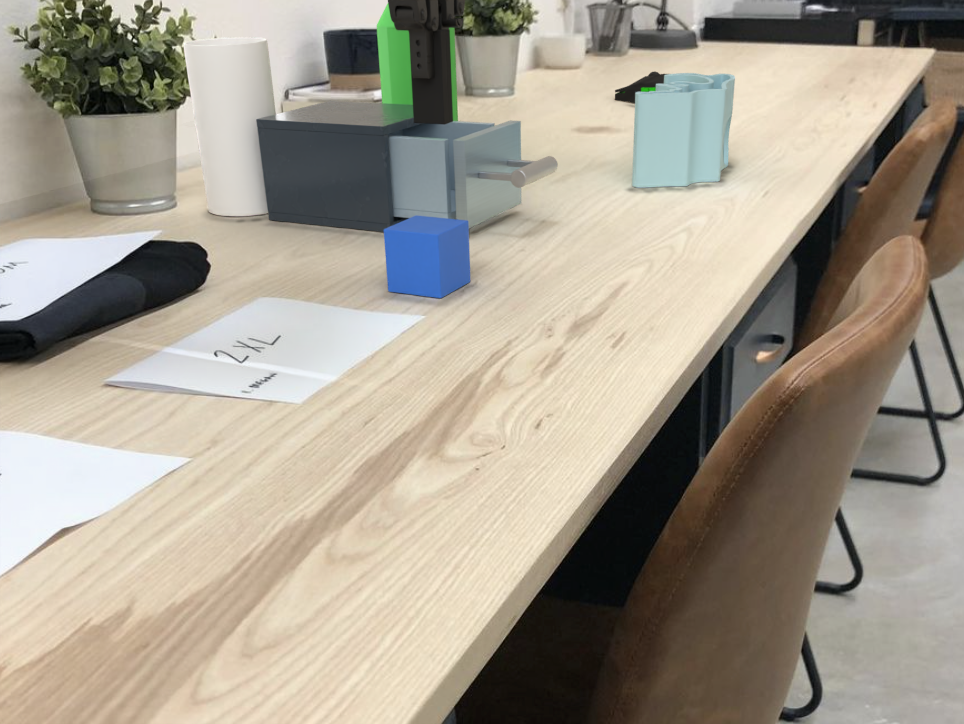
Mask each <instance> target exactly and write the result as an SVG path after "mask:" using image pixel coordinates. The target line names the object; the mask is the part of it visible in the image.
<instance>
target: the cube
mask: <svg viewBox="0 0 964 724" xmlns="http://www.w3.org/2000/svg"><path fill="white" fill-rule="evenodd" d="M383 242H384V253H385V255H384V256H385V270H386V281H387V282H386V283H387V291H388V292H390V293H397V294H404V295H413V296H419V297H420V296H421V297H427V298H433V299H435V298H436V299H442V298H444V297H446V296H447V295H450V294H451V293H454V292H455V291H457V290H459V289H461V288H463V287H464V286H465V285H467V284H469V283H471V258H470V257H471V254H470V253H471V251H470V228H469V223H468V221H467V220H458V219H456V218H455V219H447V218H437V217H426V216H414V217H411V218H409V219H407V220H404V221H402V222H400V223H397V224H395V225H393V226H390V227H388V228H386V229H384V232H383Z"/></svg>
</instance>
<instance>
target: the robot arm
mask: <svg viewBox="0 0 964 724" xmlns="http://www.w3.org/2000/svg"><path fill="white" fill-rule="evenodd" d="M465 3H466V0H387V4H388V5H389V11H390V17H391V20H392V22H393V23H394V26H395V28H396V30H404V31H409V43H410V61H411V79H412V98H413V116H414V123H424V124H443V125H445V124H448V123H450V122H453V106H452V79H451V52H450V30H449V28H454V29H460V28H462V26H463V24H464V17H462V16H463V15H464V13H465V6H466V5H465Z"/></svg>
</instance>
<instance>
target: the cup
mask: <svg viewBox="0 0 964 724" xmlns="http://www.w3.org/2000/svg"><path fill="white" fill-rule="evenodd" d="M183 52H184V59H185V65H186V66H185V67H186V72H187V81H188V87H189V93H190V99H191V107H192V112H193V119H194V125H195V132H196V139H197V145H198V152H199V159H200V165H201V166H200V167H201V171H202V172H201V173H202V178H203V179H202V180H203V185H204V193H205V198H206V205H207V211H208V212H209V213H210V214H212V215H217V216H220V217H221V216H222V217H251V216H252V217H253V216H259V215H266V214H267V215H268V209H267V201H266V193H265V185H264V177H263V169H262V161H261V153H260V145H259V137H258V129H257V122H256V119H259V118H263V117H267V116H271V115H275V114H277V113H276V103H275V102H276V101H275V95H274V86H273V78H272V69H271V61H270V51H269V43H268V39H267V38H264V37H256V36H255V37H253V36H251V37H250V36H236V37H235V36H233V37H231V36H230V37H215V38H214V37H213V38H204V39H203V38H201V39H196V40H194V39H193V40H188V41H185V42H183Z"/></svg>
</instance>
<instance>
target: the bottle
mask: <svg viewBox="0 0 964 724" xmlns="http://www.w3.org/2000/svg"><path fill="white" fill-rule="evenodd" d="M455 29H456V28H449V30H450V52H451V79H452V106H453V121H459V113H458V112H459V110H458V83H457V82H458V81H457V60H456V59H457V58H456V57H457V55H456V33H455ZM376 36H377V49H378V50H377V51H378V63H379V64H378V65H379V77H380V92H381V103H387V104H407V105H413V98H412V79H411V61H410V43H409V31H404V30H396V28H395V26H394V23H393V22H392V20H391V17H390V11H389V5H388V3H387V4H386V6H385V7H384V9H383V11H382V14H381V15H380V17H379V20H378V21H377V23H376Z"/></svg>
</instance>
